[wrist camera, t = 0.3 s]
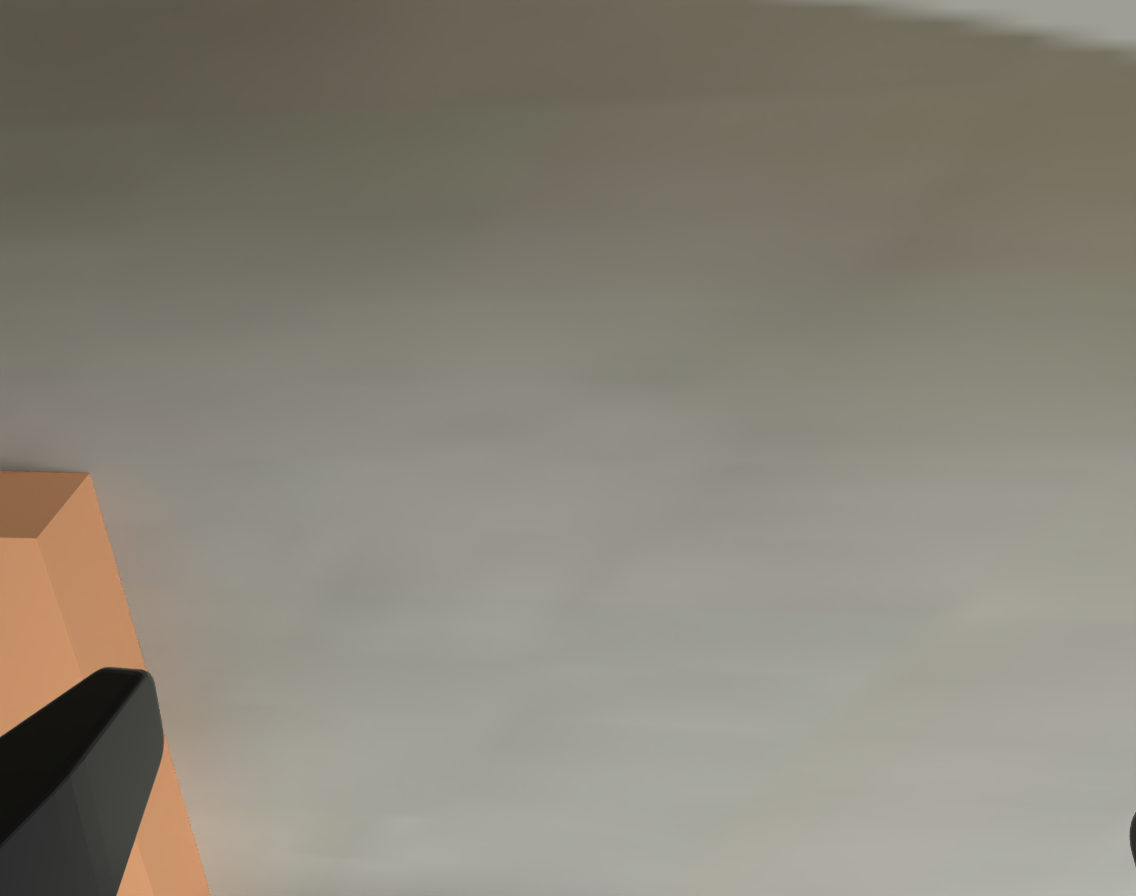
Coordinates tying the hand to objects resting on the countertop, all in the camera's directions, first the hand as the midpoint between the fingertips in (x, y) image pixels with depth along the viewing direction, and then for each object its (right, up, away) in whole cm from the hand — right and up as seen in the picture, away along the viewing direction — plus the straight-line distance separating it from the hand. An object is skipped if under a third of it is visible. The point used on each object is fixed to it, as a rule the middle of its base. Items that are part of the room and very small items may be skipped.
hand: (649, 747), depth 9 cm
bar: (-14, -5, +21) cm, 26 cm away
